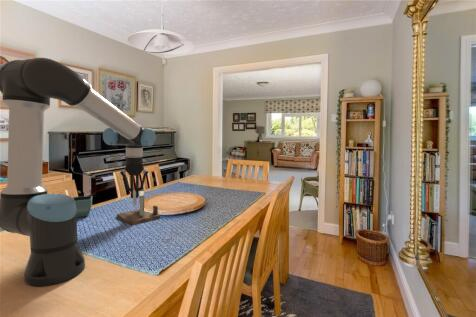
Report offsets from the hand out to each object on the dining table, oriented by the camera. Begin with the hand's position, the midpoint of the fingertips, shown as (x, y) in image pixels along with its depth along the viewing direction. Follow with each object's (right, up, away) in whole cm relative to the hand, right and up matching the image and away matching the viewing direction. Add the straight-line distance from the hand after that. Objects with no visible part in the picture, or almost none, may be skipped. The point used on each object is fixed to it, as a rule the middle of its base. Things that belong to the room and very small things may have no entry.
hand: (134, 204), depth 129 cm
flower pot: (-28, -7, +5) cm, 29 cm away
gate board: (+1, -7, +3) cm, 8 cm away
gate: (+2, -5, +4) cm, 7 cm away
